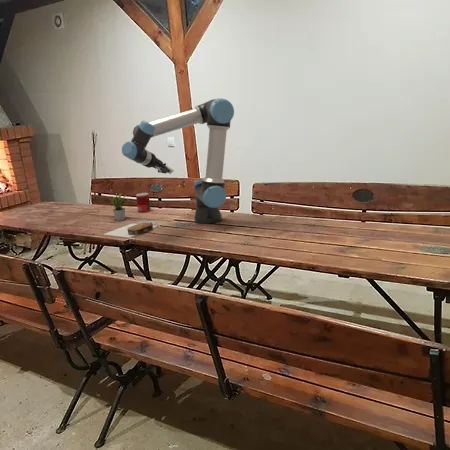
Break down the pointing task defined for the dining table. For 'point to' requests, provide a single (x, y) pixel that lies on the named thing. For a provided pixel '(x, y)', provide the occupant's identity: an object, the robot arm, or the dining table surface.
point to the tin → (140, 228)
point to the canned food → (143, 202)
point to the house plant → (118, 207)
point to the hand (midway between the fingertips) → (171, 171)
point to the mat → (123, 232)
